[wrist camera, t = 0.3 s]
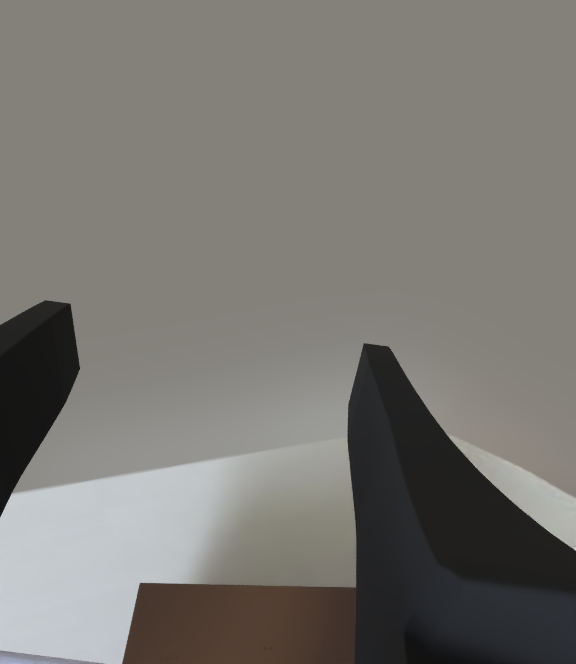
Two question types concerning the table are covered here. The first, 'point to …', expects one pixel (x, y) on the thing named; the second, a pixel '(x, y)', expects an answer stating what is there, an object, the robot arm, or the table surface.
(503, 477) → the table surface
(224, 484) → the table surface
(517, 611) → the robot arm
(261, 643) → the cabinet
